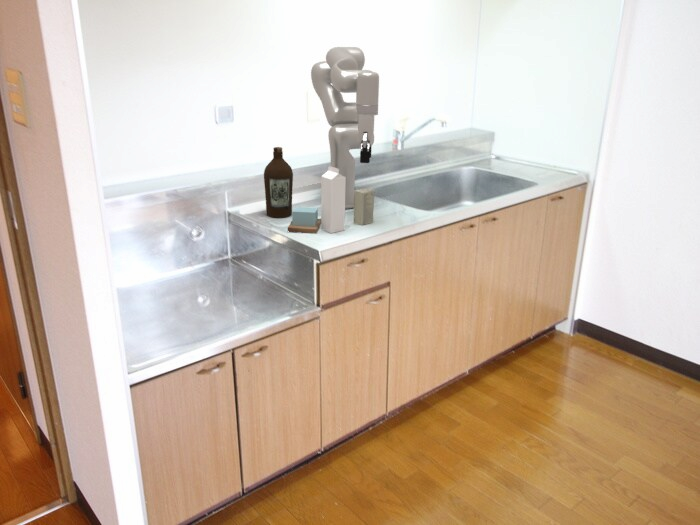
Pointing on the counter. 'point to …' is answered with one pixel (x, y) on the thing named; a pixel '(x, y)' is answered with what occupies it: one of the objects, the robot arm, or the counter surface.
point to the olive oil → (278, 186)
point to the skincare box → (363, 206)
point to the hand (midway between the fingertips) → (365, 160)
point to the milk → (333, 201)
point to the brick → (304, 216)
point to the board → (304, 228)
